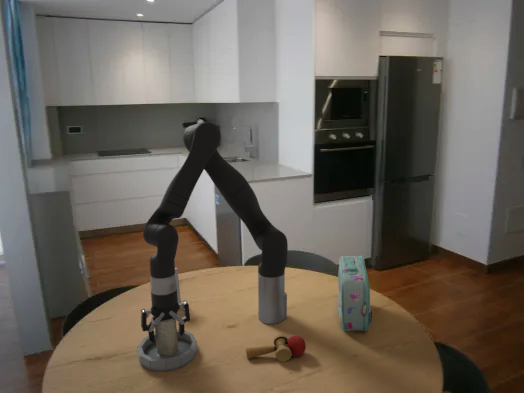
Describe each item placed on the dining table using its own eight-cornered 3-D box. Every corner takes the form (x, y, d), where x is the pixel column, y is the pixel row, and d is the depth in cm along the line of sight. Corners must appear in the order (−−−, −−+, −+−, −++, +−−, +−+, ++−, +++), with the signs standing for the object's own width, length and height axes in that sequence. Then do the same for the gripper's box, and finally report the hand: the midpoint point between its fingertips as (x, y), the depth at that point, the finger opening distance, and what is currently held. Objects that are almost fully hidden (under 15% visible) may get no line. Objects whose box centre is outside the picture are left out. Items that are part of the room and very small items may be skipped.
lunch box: (372, 340, 133) (376, 278, 128) (339, 338, 134) (342, 276, 129) (362, 301, 159) (365, 248, 154) (335, 300, 160) (337, 247, 155)
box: (178, 349, 127) (176, 316, 125) (171, 357, 123) (169, 323, 121) (163, 345, 129) (161, 313, 126) (156, 353, 125) (153, 320, 123)
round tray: (188, 333, 137) (188, 324, 137) (203, 361, 122) (202, 352, 121) (135, 345, 130) (134, 336, 130) (143, 377, 115) (142, 367, 114)
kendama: (249, 371, 120) (309, 359, 121) (245, 350, 120) (306, 338, 121) (247, 359, 128) (304, 348, 129) (244, 340, 127) (301, 328, 129)
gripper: (184, 279, 128) (187, 326, 131) (137, 287, 122) (141, 337, 126) (190, 288, 121) (193, 338, 125) (140, 298, 115) (145, 350, 119)
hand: (167, 337), depth 125 cm, fingers open, 8 cm apart
